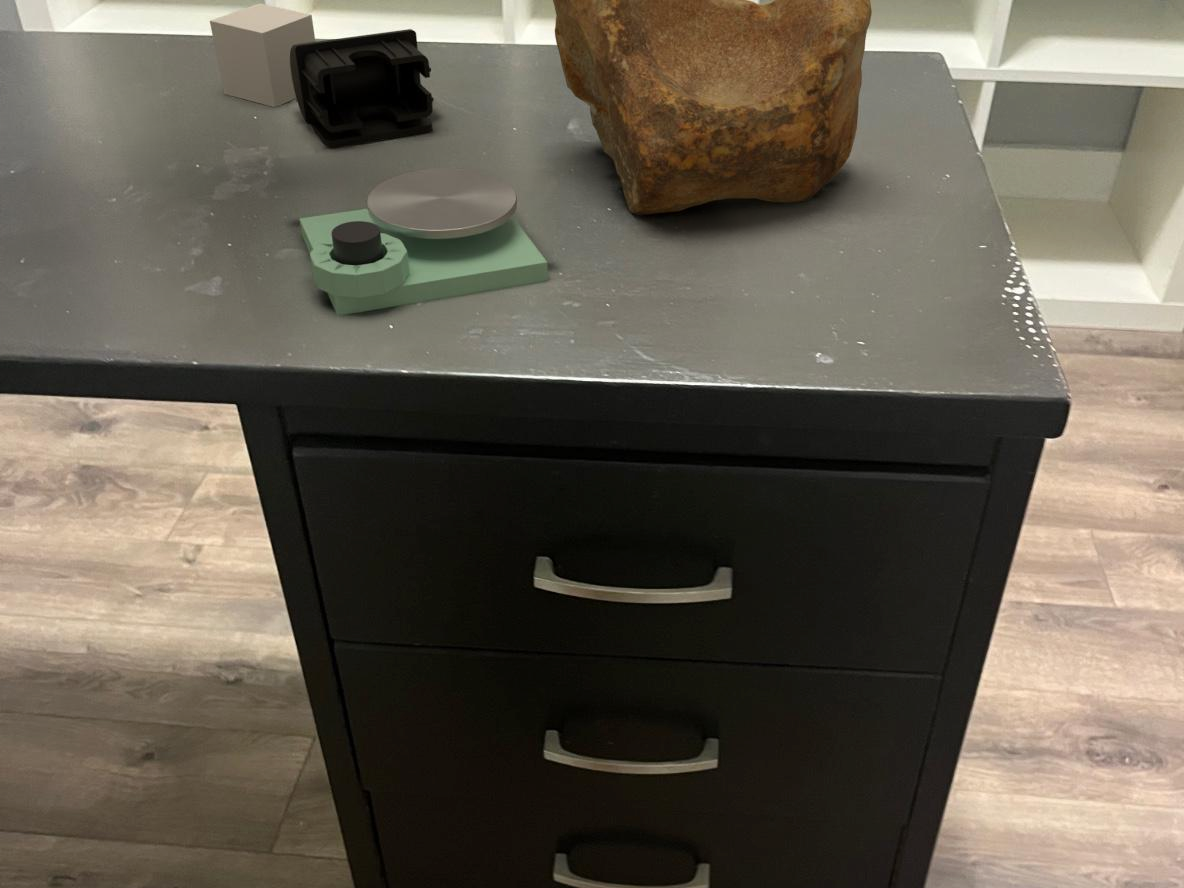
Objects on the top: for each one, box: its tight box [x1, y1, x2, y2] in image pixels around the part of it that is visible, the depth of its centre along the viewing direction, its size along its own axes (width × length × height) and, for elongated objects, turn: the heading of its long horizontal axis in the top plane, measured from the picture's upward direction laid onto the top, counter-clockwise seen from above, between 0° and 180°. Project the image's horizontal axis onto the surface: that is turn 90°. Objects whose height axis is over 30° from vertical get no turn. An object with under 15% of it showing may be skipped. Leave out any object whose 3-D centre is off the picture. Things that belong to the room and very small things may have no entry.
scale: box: [299, 208, 549, 317], centre depth 79 cm, size 15×13×3 cm
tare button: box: [331, 221, 383, 266], centre depth 74 cm, size 3×3×2 cm
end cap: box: [290, 28, 435, 149], centre depth 95 cm, size 10×7×7 cm
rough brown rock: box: [552, 0, 873, 216], centre depth 84 cm, size 23×17×15 cm
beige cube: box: [209, 2, 316, 108], centre depth 102 cm, size 6×6×6 cm
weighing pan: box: [366, 167, 518, 239], centre depth 79 cm, size 10×10×1 cm
